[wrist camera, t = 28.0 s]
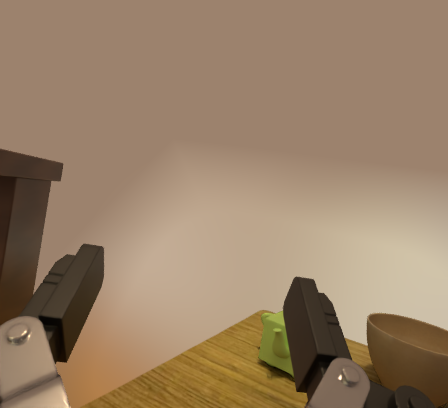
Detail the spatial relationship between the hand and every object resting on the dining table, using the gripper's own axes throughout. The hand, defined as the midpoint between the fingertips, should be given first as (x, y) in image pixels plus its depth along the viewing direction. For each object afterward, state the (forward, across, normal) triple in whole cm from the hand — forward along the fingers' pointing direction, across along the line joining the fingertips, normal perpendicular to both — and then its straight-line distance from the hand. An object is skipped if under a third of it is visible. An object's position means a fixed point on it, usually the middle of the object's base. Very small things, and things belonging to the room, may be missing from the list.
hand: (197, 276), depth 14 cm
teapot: (+28, -23, +48) cm, 60 cm away
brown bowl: (+23, -44, +45) cm, 67 cm away
